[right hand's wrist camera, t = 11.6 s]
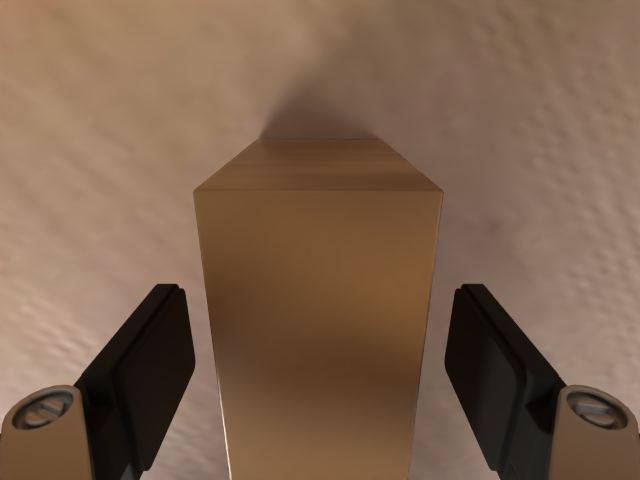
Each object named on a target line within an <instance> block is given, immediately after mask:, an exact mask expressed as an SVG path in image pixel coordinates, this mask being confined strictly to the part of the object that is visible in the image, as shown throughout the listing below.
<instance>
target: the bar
mask: <svg viewBox="0 0 640 480" xmlns="http://www.w3.org/2000/svg"><path fill="white" fill-rule="evenodd" d="M193 196H194V203H195V211H196V219H197V227H198V234H199V242H200V250H201V258H202V265H203V273H204V281H205V289H206V296H207V304H208V312H209V319H210V327H211V335H212V343H213V350H214V358H215V366H216V374H217V381H218V389H219V397H220V405H221V412H222V420H223V428H224V436H225V443H226V451H227V459H228V466H229V474H230V480H407V479H408V471H409V463H410V455H411V447H412V439H413V431H414V423H415V415H416V408H417V400H418V392H419V384H420V376H421V368H422V360H423V352H424V344H425V336H426V328H427V320H428V312H429V304H430V296H431V288H432V280H433V272H434V264H435V256H436V248H437V240H438V232H439V224H440V216H441V208H442V200H443V190H442V189H441V188H439V187H438V186H437V185H436V184H435V183H433V182H432V181H431V180H430V179H428V178H427V177H426V176H425V175H424V174H422V173H421V172H420V171H419V170H418V169H416V168H415V167H414V166H413V165H412V164H410V163H409V162H408V161H407V160H406V159H404V158H403V157H402V156H401V155H400V154H398V153H397V152H396V151H395V150H394V149H392V148H391V147H390V146H389V145H387V144H386V143H385V142H384V141H383V140H381V139H257V140H256V141H254V142H253V143H252V144H251V145H249V146H248V147H247V148H246V149H244V150H243V151H242V152H241V153H240V154H238V155H237V156H236V157H235V158H233V159H232V160H231V161H230V162H228V163H227V164H226V165H225V166H223V167H222V168H221V169H220V170H218V171H217V172H216V173H215V174H213V175H212V176H211V177H210V178H208V179H207V180H206V181H205V182H204V183H202V184H201V185H200V186H199V187H197V188H196V189H195V190H194V192H193Z"/></svg>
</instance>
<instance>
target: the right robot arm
mask: <svg viewBox="0 0 640 480" xmlns="http://www.w3.org/2000/svg"><path fill="white" fill-rule="evenodd" d="M194 369H195V353H194V347H193V340H192V334H191V327H190V321H189V314H188V308H187V301H186V295H185V291H184V289H179V286H178V285H177V284H157V285H156V286H155V287H154V288H153V289H152V290H151V292H150V293H149V294H148V295H147V296H146V298H145V299H144V300H143V301H142V302H141V304H140V305H139V306H138V307H137V308H136V310H135V311H134V312H133V313H132V314H131V316H130V317H129V318H128V319H127V320H126V322H125V323H124V324H123V325H122V326H121V328H120V329H119V330H118V331H117V332H116V334H115V335H114V336H113V337H112V338H111V340H110V341H109V342H108V343H107V345H106V346H105V347H104V348H103V349H102V351H101V352H100V353H99V354H98V355H97V357H96V358H95V359H94V360H93V361H92V363H91V364H90V365H89V366H88V367H87V369H86V370H85V371H84V372H83V373H82V376H81V377H80V378H79V379H78V380H77V382H76V383H75V384H74V385H73V386H70V385H56V386H52V387H48V388H44V389H42V390H39V391H37V392H34V393H32V394H30V395H29V396H27V397H25V398H24V399H22V400H21V401H19V402H18V403H17V404H16V405H15V406H13V407H12V408H11V409H10V411H9V412H8V413H7V414H6V416H5V418H4V421H3V423H2V430H1V434H0V480H140V477H141V475H142V473H143V471H148V470H149V469H150V468H151V466H152V464H153V462H154V459H155V457H156V455H157V453H158V450H159V448H160V446H161V444H162V442H163V439H164V437H165V435H166V433H167V430H168V428H169V426H170V424H171V421H172V419H173V417H174V415H175V412H176V410H177V408H178V406H179V403H180V401H181V399H182V397H183V394H184V392H185V390H186V388H187V385H188V383H189V381H190V379H191V376H192V374H193V372H194ZM445 369H446V372H447V374H448V376H449V379H450V381H451V383H452V385H453V388H454V390H455V392H456V394H457V397H458V399H459V401H460V403H461V406H462V408H463V410H464V412H465V415H466V417H467V419H468V421H469V424H470V426H471V428H472V430H473V433H474V435H475V437H476V439H477V442H478V444H479V446H480V448H481V450H482V453H483V455H484V457H485V459H486V462H487V464H488V466H489V468H490V469H491V470H492V471H497V473H498V475H499V477H500V480H640V434H639V430H638V423H637V421H636V418H635V416H634V414H633V413H632V412H631V411H630V409H629V408H628V407H627V406H625V405H624V404H623V403H622V402H621V401H619V400H618V399H616V398H615V397H613V396H611V395H610V394H608V393H606V392H603V391H601V390H598V389H596V388H592V387H588V386H584V385H570V386H567V385H566V384H565V383H564V382H563V380H562V379H561V378H560V377H559V375H558V373H557V372H556V371H555V370H554V369H553V367H552V366H551V365H550V364H549V363H548V361H547V360H546V359H545V358H544V357H543V355H542V354H541V353H540V352H539V351H538V349H537V348H536V347H535V346H534V344H533V343H532V342H531V341H530V340H529V338H528V337H527V336H526V335H525V334H524V332H523V331H522V330H521V329H520V328H519V326H518V325H517V324H516V323H515V322H514V320H513V319H512V318H511V317H510V316H509V314H508V313H507V312H506V311H505V310H504V308H503V307H502V306H501V305H500V304H499V302H498V301H497V300H496V299H495V298H494V296H493V295H492V294H491V293H490V292H489V290H488V289H487V288H486V287H485V286H484V285H483V284H463V285H462V286H461V289H456V291H455V295H454V301H453V308H452V314H451V321H450V327H449V334H448V340H447V347H446V353H445Z"/></svg>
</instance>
